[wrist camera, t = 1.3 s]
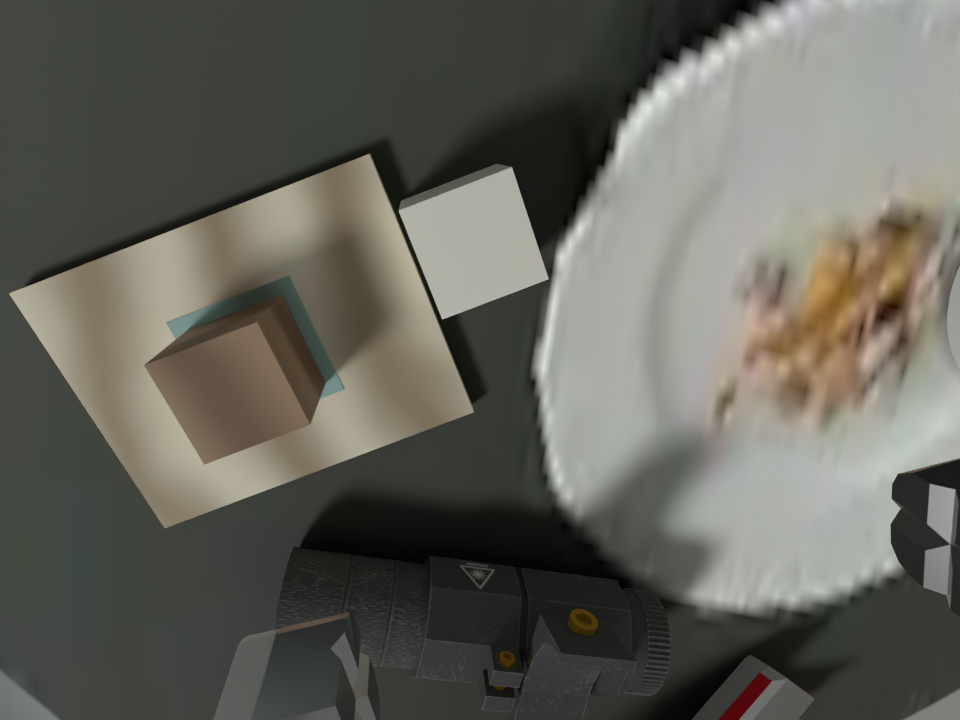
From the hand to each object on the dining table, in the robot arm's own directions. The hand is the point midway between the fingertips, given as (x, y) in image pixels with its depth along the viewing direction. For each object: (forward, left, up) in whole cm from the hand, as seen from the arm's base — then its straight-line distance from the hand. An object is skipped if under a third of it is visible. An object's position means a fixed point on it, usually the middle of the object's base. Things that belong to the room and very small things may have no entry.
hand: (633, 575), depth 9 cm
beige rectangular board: (+12, 0, -24) cm, 26 cm away
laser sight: (+7, +19, -24) cm, 31 cm away
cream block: (0, -2, -24) cm, 24 cm away
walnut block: (+12, 0, -23) cm, 26 cm away
